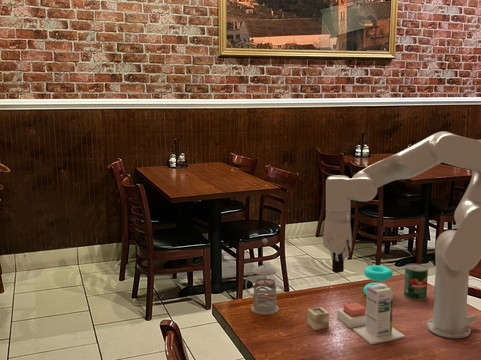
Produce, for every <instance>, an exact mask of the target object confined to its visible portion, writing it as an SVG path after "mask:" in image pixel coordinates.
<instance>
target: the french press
mask: <svg viewBox="0 0 481 360" xmlns="http://www.w3.org/2000/svg"><path fill="white" fill-rule="evenodd" d="M261 242H262V243H263V244H267V243H269V242H268V239H267V238H262V240H261ZM252 272H253V273H251V274H250V275H248V276H247V277H246V278H245V282H244V283H245V285H244V286H245V291H246V292H247V294H248V295H250V296H251V297H252V298H253V299H252V300H253V301H252V302H253V303H252V304H253V305H252V306H251V307H250V310H251V312H253V313H255V314H257V315H266V316H268V315H273V314H276V313H277V312H279V311H280V308H279V306H278V305H277V285H276V281H275V279H272V278H269V277H266V276H273V275H275V274H276V273H277V272H278V271H277V269H276V268H275V267H273V266H271V265H267V264H264V265H259V266H257V267H255V268H253V271H252ZM255 275H258V276H263V277H262V278H257V279H256V280H255ZM251 278H253V280H254V285H253V293H252V292H250V291H249V289H248V287H247V284H248V281H249V280H250V279H251ZM278 310H279V311H278ZM275 312H276V313H275Z"/></svg>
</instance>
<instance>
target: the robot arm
mask: <svg viewBox="0 0 481 360" xmlns="http://www.w3.org/2000/svg"><path fill="white" fill-rule="evenodd" d="M442 163H444V164H447V165H451V166H453V167H457V168H462V169H465V170H471V179H470V181H469V184H468V186H467V188H466V190H465V192H464V194H463V196H462V197H461V200H460V202H459V203H458V205H457V207H456V209H455V210H454V215H453V218H454V221H455V223H456V225H457V226H458V227H457V229H456V230H455V229H448V230H445V231H443V232H441V233H440V234H439V236H438V237H437V238H436V241H435V246H434V255H435V257H434V258H435V276H434V291H433V292H434V293H433V309H432V318H430V319H429V320H428V321H427V323H426V324H427V325H426V327H427V329H428V331H430V332H431V333H433V334H434V335H437V336H440V337H443V338H448V339H463V338H466V337H468V336H470V334H471V327H470V326H469V324H471V323H472V322H477V321H478V316H477V315H476V314H471V315H468V313H467V307H468V305H467V303H468V290H469V278H470V271H471V270H473V269H474V268H475V267H476V266H477V265H478V263H479V262H480V260H481V139H474V138H470V137H465V136H461V135H459V134H458V135H457V134H454V133H451V132H449V131H438V132H436V133H433V134H432V135H430V136H428V137H426V138H424V139H422V140H421V141H418V142H417V143H415V144H413V145H411V146H409V147H407V148H404V149H403V150H401V151H399V152H397V153H395V154H392V155H390V156H389V157H386V158H384V159H382V160H379V161H377V162H375V163H372V164H371V165H369V166H367V167H364V169H362V170H360V171H358V172H357V173H355V174H354V175H353V176H352V178H350V177H349V176H347V175H340V174H337V175H336V174H335V175H334V174H333V175H329V176H328V177H326V180H325V219H324V224H323V236H322V237H323V238H322V242H323V244H322V245H323V247H324V248H325V249H327V250H328V251H330V256H331V259H332V262H331V267H332V268H331V269H332V272H333V273H334V274H339V273H344V271H345V270H344V268H345V267H344V265H345V263H344V261H345V259H347V258H350V256H349V255H350V254H349V253H351V252H352V249H353V237H352V226H351V201H356V202H357V201H358V202H370V201H372V200H373V199H374V198H375V197H376V196H377V194H378V188H380V187H382V186H384V185H387V184H389V183H391V182H394V181H397V180H398V181H400V180H408V179H412V178H415V177H417V176H419V175H420V174H422V173H424V172H426V171H428V170H430V169H432V168H434V167H436V166H439V164H442ZM470 322H471V323H470Z"/></svg>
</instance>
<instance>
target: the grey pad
mask: <svg viewBox="0 0 481 360" xmlns="http://www.w3.org/2000/svg"><path fill="white" fill-rule="evenodd" d="M352 331H353V332H354V333H356V334H357V335H358V336H360V337H361V339H364V341H366V342H367V343H369V344H370V345H377V344H381V343H385V342H390V341H396V340H400V339H405V338H406V335H405V334H404V333H402V332H400V331H399V330H397V329H395V328H394V327H393V326H392V333H391V334H386V335H381V336H378V337H376V336H375V335H373V334H372V333H370V332H369V331H368V330H366V325H365V326H359V327H354V328H352Z"/></svg>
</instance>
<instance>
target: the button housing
mask: <svg viewBox="0 0 481 360" xmlns="http://www.w3.org/2000/svg"><path fill="white" fill-rule="evenodd" d="M336 318H337V320H339V321H340V322H341V323H343V324H344V325H345V326H347V327H348V328H349V329H353V328H358V327H363V326H366V311H365V315H362V316H356V317H350V316H349V315H348V314H346V313H345V312H344V307H343V308H339V309H337V311H336Z"/></svg>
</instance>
